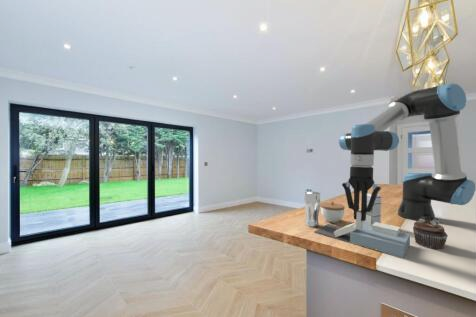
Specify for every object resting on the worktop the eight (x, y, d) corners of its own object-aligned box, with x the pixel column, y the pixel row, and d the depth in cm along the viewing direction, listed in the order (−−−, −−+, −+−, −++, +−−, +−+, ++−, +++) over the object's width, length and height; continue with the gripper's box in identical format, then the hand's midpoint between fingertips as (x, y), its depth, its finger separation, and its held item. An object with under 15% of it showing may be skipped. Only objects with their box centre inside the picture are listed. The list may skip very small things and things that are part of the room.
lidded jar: (331, 225, 100) (332, 205, 100) (315, 218, 110) (316, 200, 109) (349, 223, 104) (349, 203, 104) (331, 216, 114) (332, 198, 113)
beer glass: (304, 226, 98) (305, 193, 97) (303, 221, 105) (304, 190, 104) (320, 228, 96) (321, 194, 96) (318, 223, 103) (319, 191, 102)
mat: (328, 224, 101) (328, 223, 101) (361, 233, 91) (361, 232, 91) (314, 232, 91) (314, 231, 91) (349, 242, 81) (349, 241, 81)
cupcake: (414, 246, 79) (415, 219, 79) (411, 237, 88) (412, 212, 87) (450, 253, 74) (451, 224, 74) (443, 243, 82) (445, 217, 82)
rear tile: (375, 226, 88) (375, 221, 87) (399, 232, 82) (400, 227, 82) (371, 230, 84) (371, 225, 84) (397, 236, 78) (397, 230, 78)
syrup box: (381, 226, 100) (382, 194, 99) (371, 228, 98) (373, 195, 97) (369, 222, 105) (370, 192, 104) (360, 223, 103) (361, 193, 102)
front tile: (341, 233, 90) (338, 228, 90) (359, 226, 85) (356, 221, 85) (336, 237, 86) (333, 232, 86) (354, 230, 81) (351, 225, 82)
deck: (361, 233, 91) (361, 223, 91) (409, 245, 80) (410, 234, 80) (349, 242, 81) (350, 232, 81) (403, 258, 70) (403, 246, 70)
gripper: (339, 165, 83) (337, 226, 84) (379, 167, 74) (376, 236, 75) (346, 164, 89) (344, 222, 90) (384, 166, 79) (381, 230, 80)
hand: (359, 228), depth 82 cm, fingers closed
